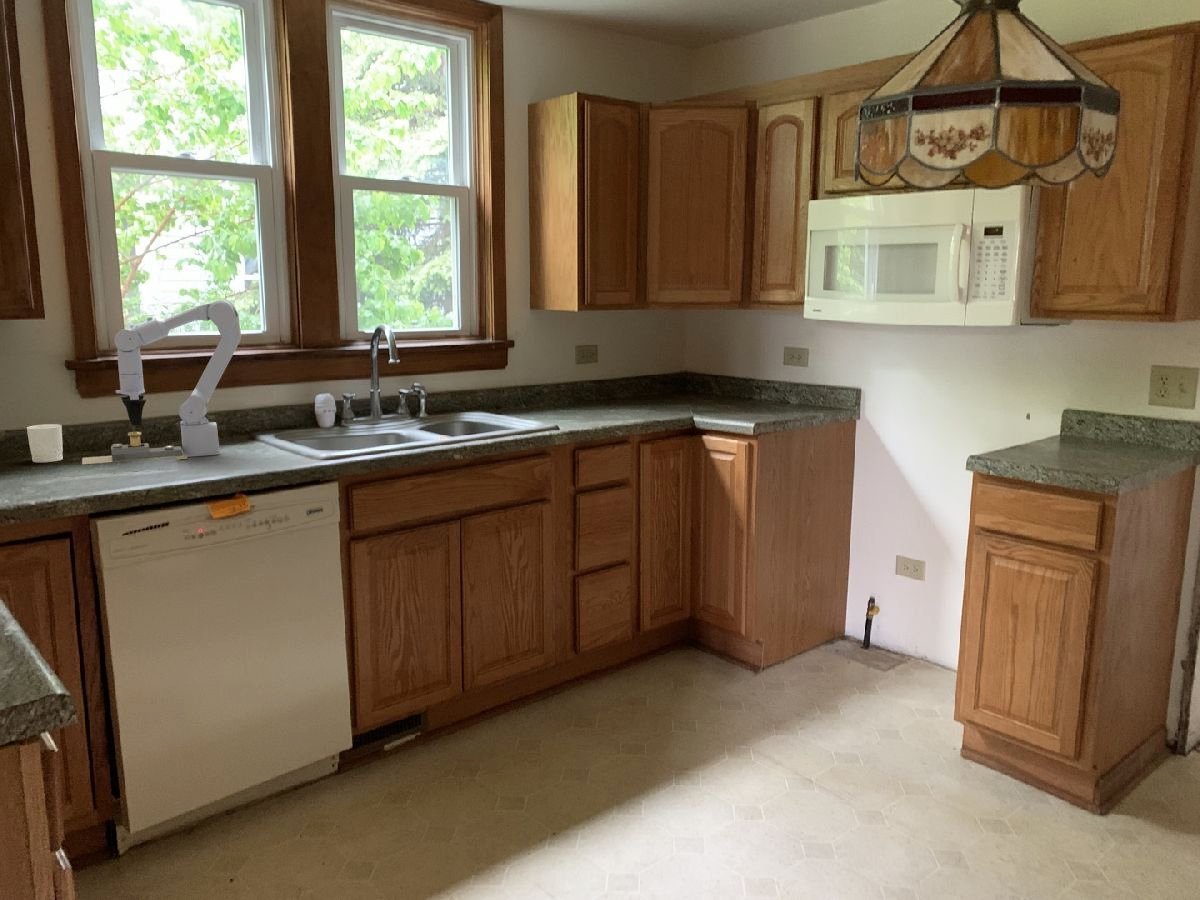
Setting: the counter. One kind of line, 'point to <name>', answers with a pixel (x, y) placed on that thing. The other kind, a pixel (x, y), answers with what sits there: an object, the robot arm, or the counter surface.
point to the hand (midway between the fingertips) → (135, 423)
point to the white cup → (45, 442)
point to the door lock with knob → (137, 453)
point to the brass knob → (135, 439)
